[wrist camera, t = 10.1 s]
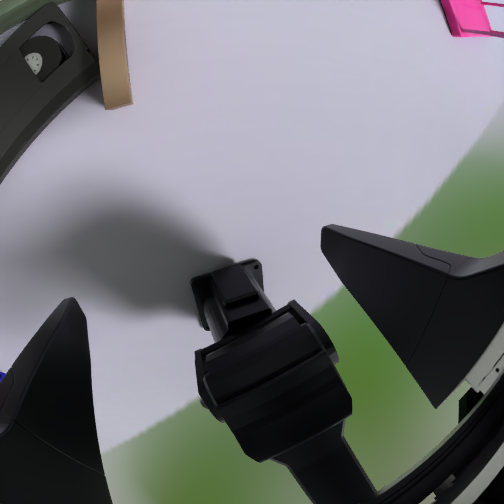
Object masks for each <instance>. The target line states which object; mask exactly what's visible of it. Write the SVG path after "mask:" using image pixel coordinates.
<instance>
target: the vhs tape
mask: <svg viewBox="0 0 504 504" xmlns="http://www.w3.org/2000/svg"><path fill="white" fill-rule="evenodd" d="M49 21H54V22H57V23H59V24H61V25H62V26H64V27H65V28H66V29H67V30H68V32H69V33H70V35H71V38H72V40H73V46H74V52H73V54H72V56H71V57H70V58H69V56H68V55H67V53H66V52H65V51H64V49H63V48H62V46H61V45H60V44H59V43H58V42H57V41H55V40H54V39H52V38H50V37H47V36H38V37H35V38H32V39H30V40H28V39H29V38H30V37H31V36H32V35H33V34H34V33H36V32H37V31H38V30H39V29H40V28H41V27H42V26H43V25H45V24H46V23H47V22H49ZM27 40H28V41H27ZM26 41H27V42H26ZM65 55H66V57H67V58H68V60H66V61H65ZM100 77H101V74H100V64H99V62H98V60H97V59H96V58H95V56H94V55H93V54H92V52H91V51H90V49H89V48H88V47H87V45H86V44H85V43H84V41H83V40H82V39H81V37H80V36H79V34H78V33H77V31H76V30H75V29H74V27H73V26H72V25H71V23H70V22H69V20H68V19H67V18H66V16H65V15H64V13H63V12H62V11H61V9H60V8H59V7H58V6H57V4H56V3H55V2H49V3H47V4H46V5H45V6H44V7H42V8H41V9H40V10H39V11H38V12H36V13H35V14H34V15H33V16H32V17H31V18H30V19H29V20H27V21H26V22H25V23H24V24H23V25H22V26H21V27H20V28H19V29H18V30H17V31H16V32H15V33H14V34H13V35H12V36H11V37H10V38H9V39H8V40H7V41H6V42H5V43H4V44H3V45H2V46H1V47H0V184H1V183H2V181H3V180H4V178H5V177H6V175H7V174H8V173H9V171H10V170H11V169H12V167H13V166H14V165H15V163H16V162H17V161H18V159H19V158H20V157H21V156H22V154H23V153H24V152H25V151H26V149H27V148H28V147H29V146H30V145H31V143H32V142H33V141H34V140H35V139H36V138H37V137H38V135H39V134H40V133H41V132H42V131H43V130H44V129H45V128H46V127H47V126H48V125H49V124H50V122H51V121H52V120H53V119H54V118H55V117H56V116H57V115H58V114H59V113H60V112H61V111H62V110H63V109H64V108H66V107H67V106H68V105H69V104H70V103H71V102H72V101H73V100H74V99H75V98H76V97H77V96H79V95H80V94H81V93H82V92H83V91H84V90H85V89H87V88H88V87H89V86H90V85H91V84H93V83H94V82H95V81H96V80H98V79H99V78H100Z"/></svg>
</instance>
